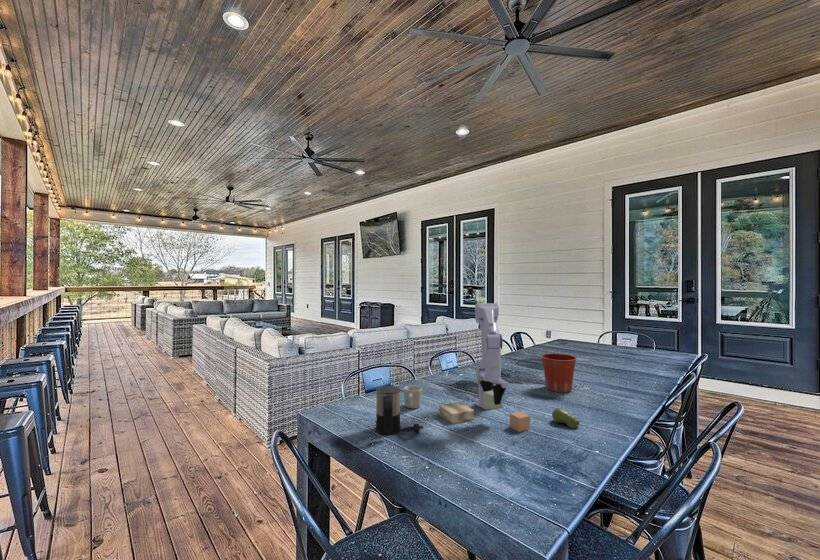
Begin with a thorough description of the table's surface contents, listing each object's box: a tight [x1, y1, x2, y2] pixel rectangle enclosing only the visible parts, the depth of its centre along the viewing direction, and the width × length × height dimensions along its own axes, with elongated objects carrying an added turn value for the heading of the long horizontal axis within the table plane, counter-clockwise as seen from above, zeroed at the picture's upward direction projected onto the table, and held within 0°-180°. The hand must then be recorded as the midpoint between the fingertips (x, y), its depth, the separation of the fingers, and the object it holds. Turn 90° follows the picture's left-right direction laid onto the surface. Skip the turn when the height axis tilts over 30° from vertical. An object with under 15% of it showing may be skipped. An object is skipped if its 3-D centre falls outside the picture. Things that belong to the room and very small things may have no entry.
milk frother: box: [375, 385, 424, 435], centre depth 133 cm, size 14×16×15 cm
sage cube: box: [483, 390, 503, 410], centre depth 141 cm, size 5×5×5 cm
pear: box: [551, 407, 580, 429], centre depth 140 cm, size 6×5×10 cm
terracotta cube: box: [509, 411, 531, 433], centre depth 136 cm, size 5×5×5 cm
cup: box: [403, 384, 423, 409], centre depth 157 cm, size 11×8×8 cm
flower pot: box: [540, 352, 578, 393], centre depth 184 cm, size 16×16×16 cm
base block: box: [438, 402, 475, 425], centre depth 147 cm, size 10×10×4 cm
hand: (492, 401), depth 141 cm, fingers closed on sage cube, 5 cm apart
